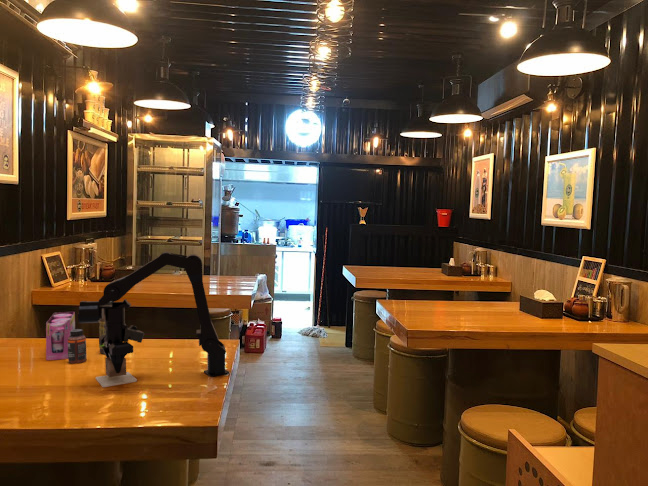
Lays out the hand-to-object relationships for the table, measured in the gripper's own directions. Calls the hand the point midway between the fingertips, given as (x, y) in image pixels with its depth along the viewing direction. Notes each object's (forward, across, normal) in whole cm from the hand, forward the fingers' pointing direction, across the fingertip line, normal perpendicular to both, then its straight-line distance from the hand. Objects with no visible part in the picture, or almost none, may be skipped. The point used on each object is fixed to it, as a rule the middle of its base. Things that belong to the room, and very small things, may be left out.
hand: (116, 370), depth 165 cm
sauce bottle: (+3, +37, -6) cm, 38 cm away
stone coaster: (+3, 0, 0) cm, 3 cm away
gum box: (+3, +48, +8) cm, 49 cm away
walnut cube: (+1, 0, 0) cm, 1 cm away
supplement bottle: (+3, +30, +6) cm, 31 cm away
